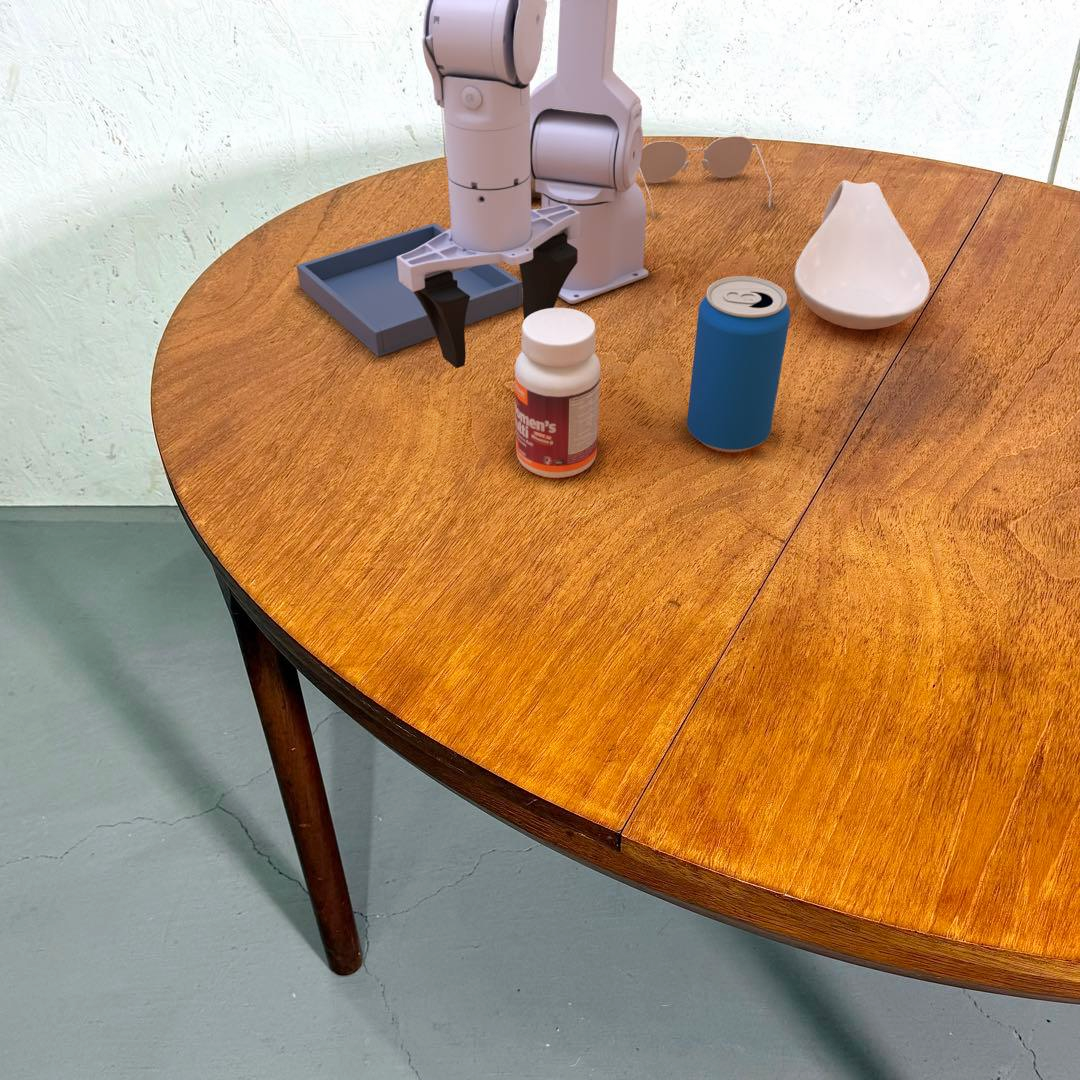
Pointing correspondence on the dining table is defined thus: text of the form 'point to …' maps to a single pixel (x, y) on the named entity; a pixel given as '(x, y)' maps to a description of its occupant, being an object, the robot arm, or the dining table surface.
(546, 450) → the pill bottle
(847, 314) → the spoon rest
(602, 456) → the dining table surface
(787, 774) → the dining table surface
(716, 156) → the sunglasses
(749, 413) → the beverage can
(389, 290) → the slate tray
